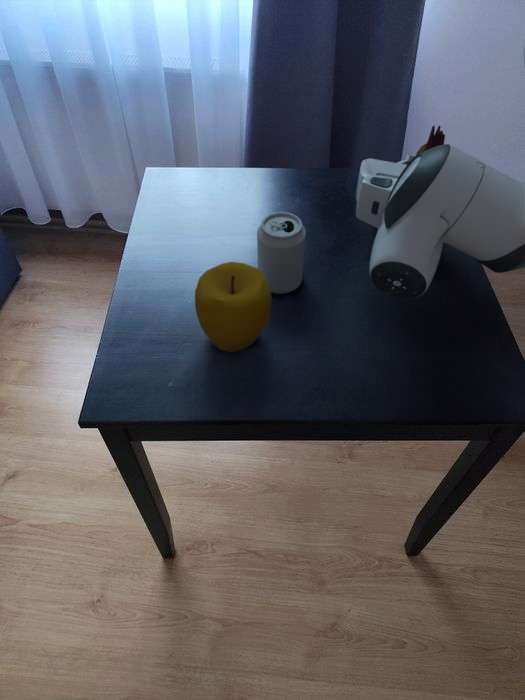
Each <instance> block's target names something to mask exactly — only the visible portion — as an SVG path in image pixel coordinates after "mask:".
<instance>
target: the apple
mask: <svg viewBox="0 0 525 700" xmlns="http://www.w3.org/2000/svg"><path fill="white" fill-rule="evenodd" d="M194 307H195V314H196V317H197V320H198V322H199V326H200V328H201V329H202V331H203V333H204V334H205V336H206V337H207V338H208V339H209V341H210V342H211V343H212V344H213V345H214V346H215V347H217V348H218V349H219V350H221V351H223V352H228V353H236V352H237V353H238V352H239V351H242V350H244V349H246V348H247V347H249V346H251V345H252V344H254V342H256V340H257V339H258V338H259V337H260V336H261V335H262V333H263V332H264V330H265V329H266V327H267V325H268V323H269V320H270V316H271V313H272V312H271V310H272V292H271V290H270V286H269V284H268V282H267V279H266V277H265V275H264V273H262V272H261V271H260V270H259V269H258V267H255V266H252V265H250V264H247V263H244V262H238V261H228V262H222V263H220V264H218V265H215V266H214V267H211V268H209V269H207V270H206V271H204V272H203V273H202V275H200V277H199V278H198V282H197V284H196V287H195V290H194Z"/></svg>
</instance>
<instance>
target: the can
mask: <svg viewBox="0 0 525 700" xmlns="http://www.w3.org/2000/svg"><path fill="white" fill-rule="evenodd" d="M256 234H257V235H256V237H257V238H256V241H257V243H256V244H257V248H256V249H257V268H258V269H259V270H260V271H261V272H262V273H264V275H265V277H266V279H267V282H268V284H269V286H270V290H271V293H273V294H279V295H281V294H282V295H283V294H287V293H290V292H293V291H295V290H296V289H298V288H299V287H300V285H301V284H302V283H303V282H302V281H303V278H304V277H303V276H304V262H305V249H306V236H307V231H306V228H305V226H304V225H303V222H302V219H300V217H298V216H297V215H295V214H293V213H292V212H291V213H290V212H288V211H287V212H286V211H276V212H272V213H269V214H268V215H266V216H264V217H263V219H262V220H261V223H260V225H259V226H258V228H257V230H256Z"/></svg>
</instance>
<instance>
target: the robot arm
mask: <svg viewBox="0 0 525 700" xmlns="http://www.w3.org/2000/svg"><path fill="white" fill-rule="evenodd" d="M523 47H524V48H523V65H524V67H525V46H523ZM355 201H356V205H355V217H356V219H358V220H359V221H361V222H364V223H365V224H368V225H370V226H372V227H374V228H376V229H377V232H376V234H375V237H374V240H373V244H372V248H371V251H370V258H369V265H368V270H369V271H368V274H369V275H368V276H369V277H370V278H369V279H370V281H371V283H372V284H373V286H374V287H375V288H376V289H378V290H379V291H380V292H382V293H384V294H386V295H388V296H390V297H393V298H397V299H401V300H412V299H416V298H418V297H419V298H420V296H421V297H422V295H424V294H425V293H426V292H427V291H428V289H429V287H430V286H431V283H432V281H433V279H434V276H435V275H436V271H437V269H438V266H439V262H440V260H441V255H442V252H443V247H444V244H446V245H448V246H449V247H452V248H453V249H456V250H458V251H459V252H462V253H463V254H465V255H467V256H470V257H471V258H472V259H473V260H475V261H476V262H478V263H480V264H481V265H483V266H484V267H486V268H487V269H489V270H490V271H493V273H497V274H499V273H500V274H501V273H508V272H513V271H517V270H520V269H523V268H525V182H522V181H520V180H517V179H516V178H514V177H512V176H510V175H508V174H506V173H504V172H502V171H500V170H499V169H496V168H495V167H492V166H490V165H489V164H486V163H485V162H484V161H483V160H482V159H481V160H480V159H479V158H477V157H475V156H473V155H471V154H469V153H468V152H465V151H463V150H462V149H459V148H457V147H454V146H453V145H450V144H449V143H444V145H439V146H436V147H433V148H431V149H428V150H426V151H424V152H422V153H420V154H418V155H416V154H415V155H411V154H410V155H409V154H406V156H405V158H404V159H402V160H400V161H397V162H393V161H386V160H381V159H376V158H366V159H363V160H362V161H361V163H360V167H359V172H358V179H357V185H356V190H355Z"/></svg>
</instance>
